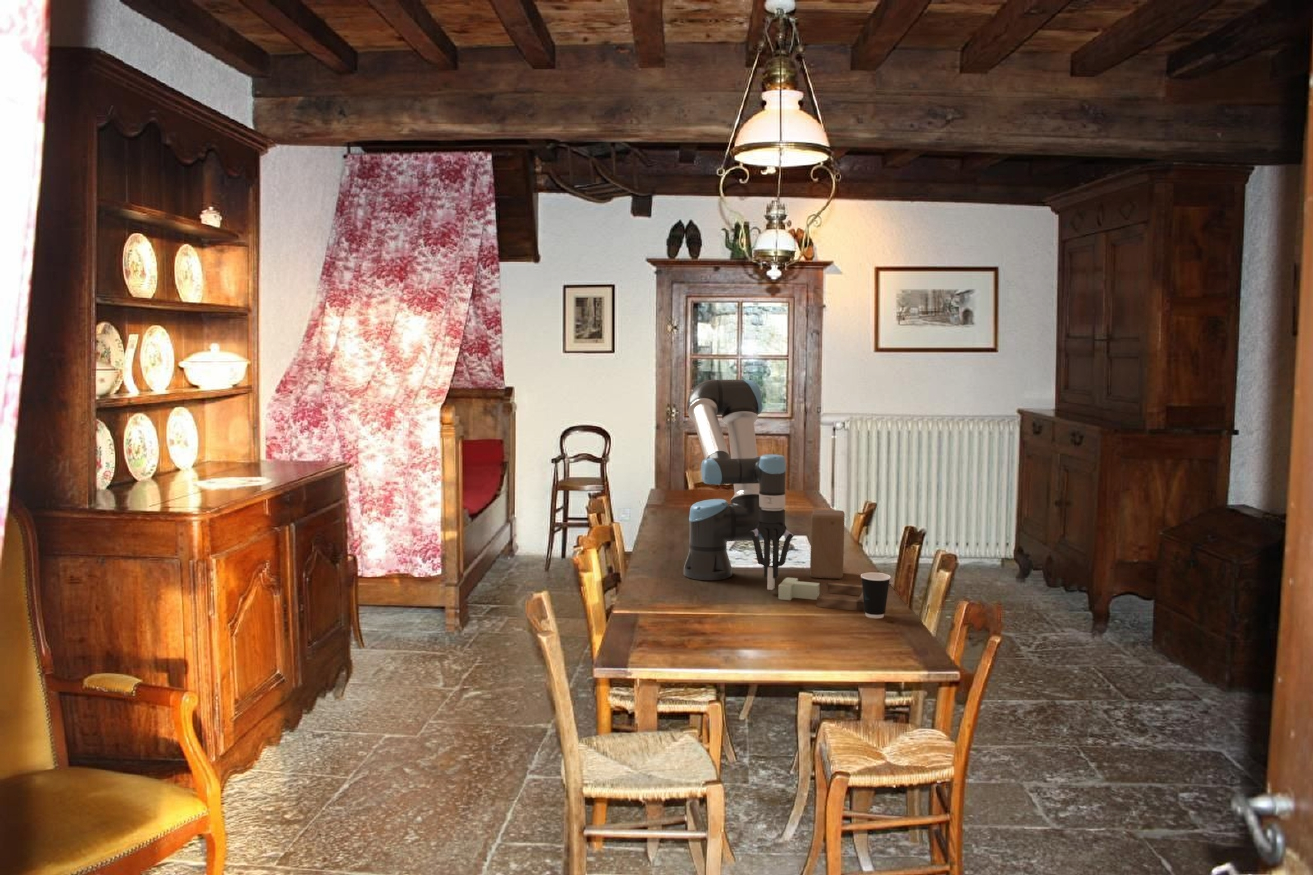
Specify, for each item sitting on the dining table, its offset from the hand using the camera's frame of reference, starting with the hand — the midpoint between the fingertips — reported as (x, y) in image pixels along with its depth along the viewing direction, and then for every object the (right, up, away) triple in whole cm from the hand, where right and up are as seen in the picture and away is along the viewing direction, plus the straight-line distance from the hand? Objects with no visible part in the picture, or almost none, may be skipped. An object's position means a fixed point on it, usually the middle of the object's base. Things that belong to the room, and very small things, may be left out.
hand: (770, 588), depth 290 cm
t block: (+8, -2, -3) cm, 9 cm away
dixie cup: (+25, -4, -22) cm, 34 cm away
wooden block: (+20, +1, +23) cm, 30 cm away
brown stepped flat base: (+21, -2, -7) cm, 22 cm away
